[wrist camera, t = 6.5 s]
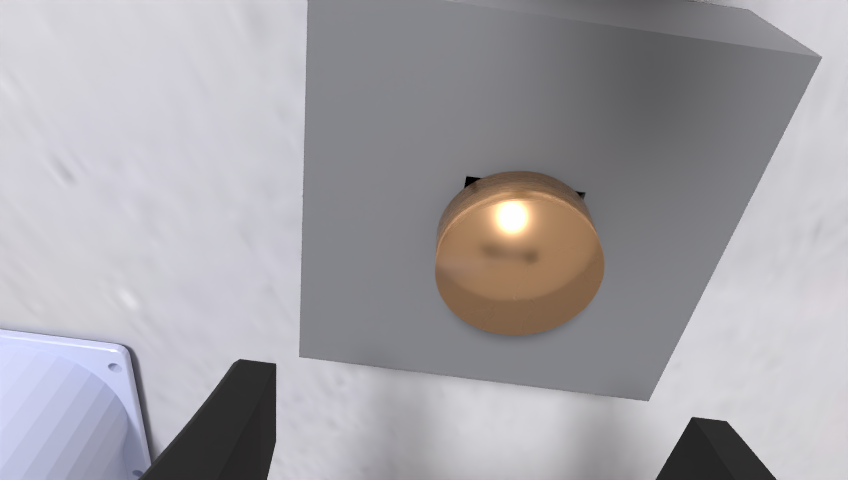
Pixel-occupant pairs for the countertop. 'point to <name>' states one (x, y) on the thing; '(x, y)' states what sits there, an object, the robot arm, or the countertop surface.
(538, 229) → the plunger
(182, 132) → the countertop surface
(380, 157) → the block
